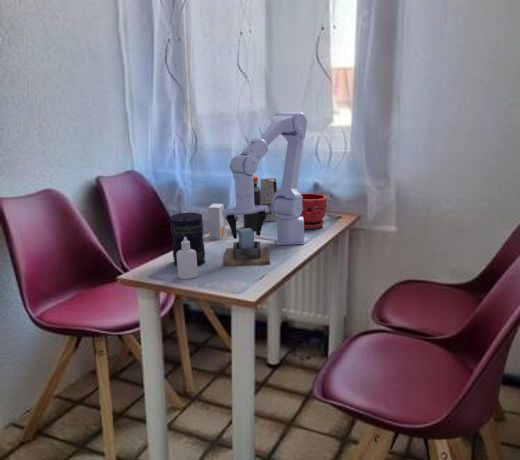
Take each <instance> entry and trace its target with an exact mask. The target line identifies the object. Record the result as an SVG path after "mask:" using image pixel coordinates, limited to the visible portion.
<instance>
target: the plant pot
mask: <svg viewBox="0 0 520 460" xmlns="http://www.w3.org/2000/svg"><path fill="white" fill-rule="evenodd" d="M300 194H301V195H302V197H303V198H302V205H303V210H302V213H301V215H300V216H299V217H303V219H304V230H305V229H307V230H312V229H313V230H314V229H317V228H318V229H319V228H320V227H322V226H323V225H324V223H325V221H324V220H323V219H324V217H325V214H326V211H327V204H328V198H327V196H326V195H325V194H320V193H308V192H307V193H300Z"/></svg>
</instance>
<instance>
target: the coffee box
mask: <svg viewBox="0 0 520 460" xmlns="http://www.w3.org/2000/svg"><path fill="white" fill-rule="evenodd" d="M277 182H278V181H277V178H261V179H260V192H261V206H263V205H267V206H268V209H269V212H267V213H265V214H266V219H265V220H264V222H277V217H275V214H274V213H273V211H272V208H271V204H272V201H273V199H274V196H275V192H277V191H278V190H277V189H278V188H277V187H278V185H277Z"/></svg>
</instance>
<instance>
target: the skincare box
mask: <svg viewBox="0 0 520 460" xmlns="http://www.w3.org/2000/svg"><path fill="white" fill-rule="evenodd" d="M224 208H225V207H224V204H223V203H212V204H211V205H209V206H208V208H207V214H208V216H207V217H208V232H209V240H213V241H214V240H219V241H220V240H222V239H223V237H225V217H223V216H222V210H225V209H224Z"/></svg>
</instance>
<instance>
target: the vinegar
mask: <svg viewBox="0 0 520 460" xmlns="http://www.w3.org/2000/svg"><path fill="white" fill-rule="evenodd" d="M258 179H259V178H258V176H257V175H253V180H254V206H261V188H259V187H258V182H259V180H258ZM245 228H251V229H252V230H253V231H254V232H256V221H255V214H254V213H253V214H245V215H243V229H245Z"/></svg>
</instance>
